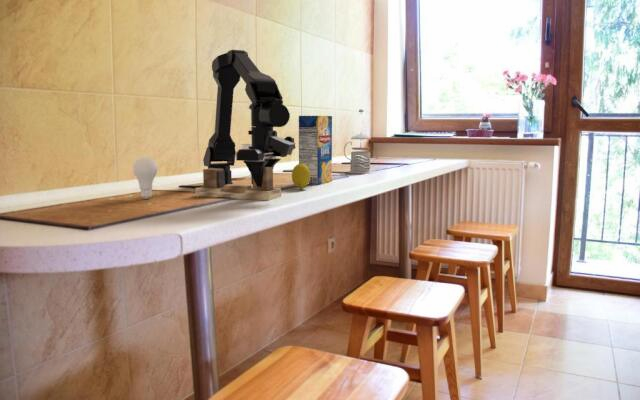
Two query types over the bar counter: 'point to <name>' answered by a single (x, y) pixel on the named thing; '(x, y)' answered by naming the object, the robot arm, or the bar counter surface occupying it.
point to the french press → (354, 159)
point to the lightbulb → (145, 174)
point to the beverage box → (316, 147)
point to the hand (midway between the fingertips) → (262, 185)
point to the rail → (240, 195)
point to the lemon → (301, 175)
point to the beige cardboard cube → (265, 180)
